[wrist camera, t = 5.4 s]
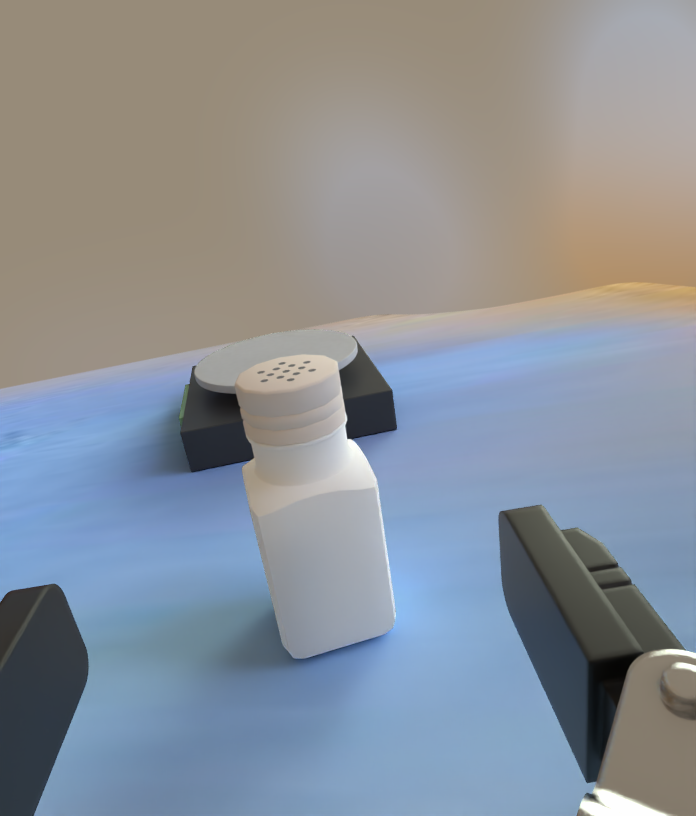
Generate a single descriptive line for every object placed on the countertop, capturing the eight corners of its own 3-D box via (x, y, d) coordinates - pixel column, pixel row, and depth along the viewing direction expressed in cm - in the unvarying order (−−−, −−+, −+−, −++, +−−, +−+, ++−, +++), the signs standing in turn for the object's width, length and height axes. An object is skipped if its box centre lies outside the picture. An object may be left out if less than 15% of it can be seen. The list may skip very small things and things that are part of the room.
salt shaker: (272, 596, 24) (217, 366, 20) (370, 568, 25) (334, 340, 21) (288, 671, 20) (225, 409, 17) (403, 636, 21) (366, 376, 17)
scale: (358, 366, 47) (350, 315, 45) (397, 429, 36) (389, 364, 34) (195, 398, 45) (181, 347, 44) (183, 473, 35) (165, 409, 33)
